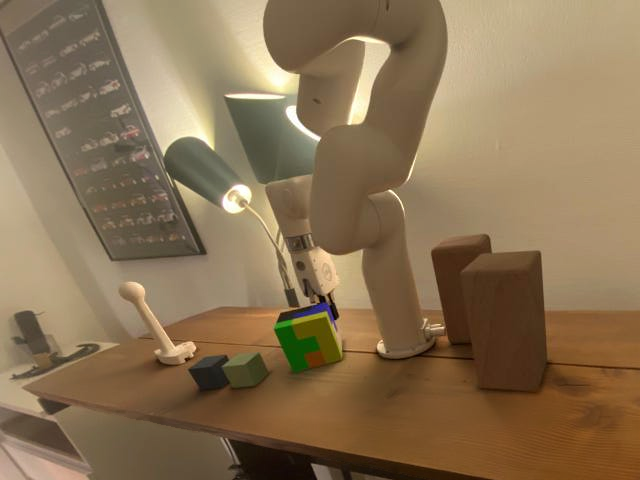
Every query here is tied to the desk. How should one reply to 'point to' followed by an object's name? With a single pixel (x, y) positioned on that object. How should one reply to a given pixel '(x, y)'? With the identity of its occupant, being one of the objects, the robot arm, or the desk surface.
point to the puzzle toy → (309, 336)
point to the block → (456, 279)
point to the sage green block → (245, 370)
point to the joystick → (156, 327)
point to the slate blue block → (210, 372)
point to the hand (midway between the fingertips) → (332, 319)
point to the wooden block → (506, 319)
